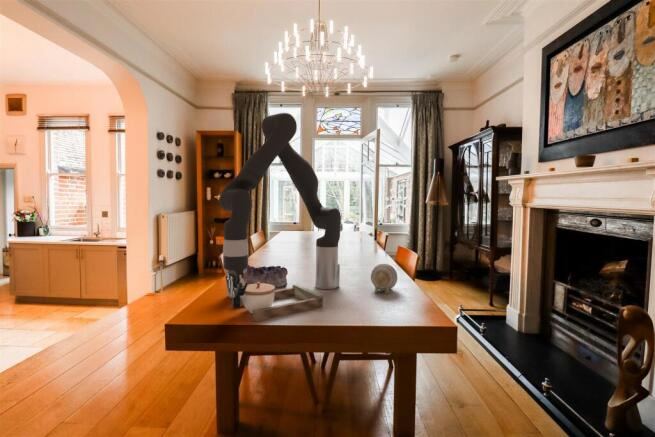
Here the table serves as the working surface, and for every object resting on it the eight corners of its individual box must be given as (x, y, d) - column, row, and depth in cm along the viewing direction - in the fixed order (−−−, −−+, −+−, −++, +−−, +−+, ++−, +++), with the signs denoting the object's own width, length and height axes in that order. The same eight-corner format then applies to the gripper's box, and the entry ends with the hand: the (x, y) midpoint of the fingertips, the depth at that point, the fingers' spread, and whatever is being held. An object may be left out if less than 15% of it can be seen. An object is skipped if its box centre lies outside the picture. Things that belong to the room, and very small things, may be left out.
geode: (237, 291, 131) (236, 265, 132) (239, 287, 142) (238, 263, 143) (289, 287, 135) (287, 262, 136) (286, 283, 146) (285, 261, 147)
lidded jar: (246, 318, 101) (246, 288, 101) (238, 307, 111) (238, 280, 110) (279, 313, 106) (279, 284, 106) (269, 303, 116) (269, 277, 115)
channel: (297, 294, 127) (297, 284, 127) (322, 306, 114) (323, 294, 113) (234, 306, 112) (234, 294, 112) (255, 321, 99) (255, 308, 99)
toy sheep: (367, 295, 128) (368, 266, 127) (373, 284, 144) (374, 259, 143) (395, 297, 125) (396, 268, 124) (398, 286, 141) (399, 260, 140)
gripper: (255, 255, 100) (256, 311, 101) (239, 249, 110) (239, 300, 112) (231, 258, 95) (232, 316, 96) (216, 251, 106) (217, 304, 107)
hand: (236, 307), depth 104 cm, fingers closed
